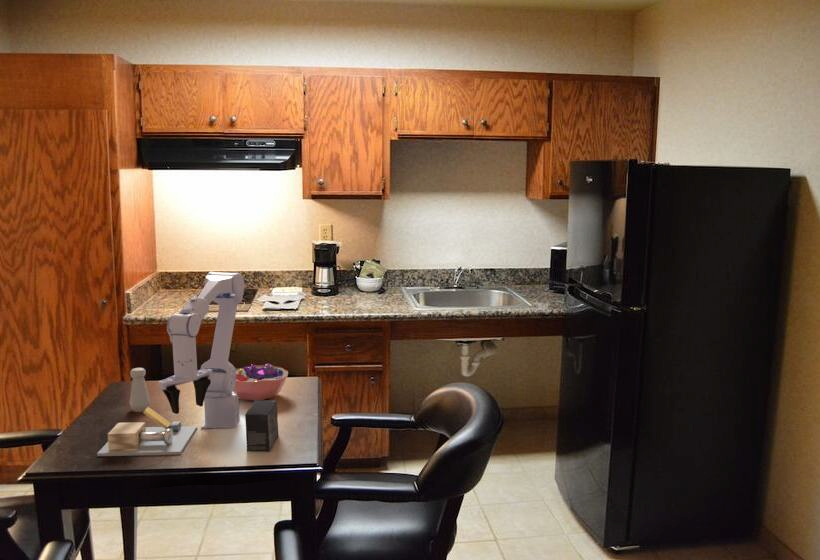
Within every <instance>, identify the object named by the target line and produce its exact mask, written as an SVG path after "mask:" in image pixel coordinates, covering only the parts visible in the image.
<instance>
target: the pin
mask: <svg viewBox="0 0 820 560" xmlns="http://www.w3.org/2000/svg"><path fill="white" fill-rule="evenodd" d="M138 436H139V442H150V441H164V443H165V444H171V443H172V440H173V430H172V429H166V430H165V432H140V433H139V434H138Z"/></svg>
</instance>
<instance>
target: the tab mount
mask: <svg viewBox="0 0 820 560" xmlns="http://www.w3.org/2000/svg"><path fill="white" fill-rule="evenodd" d="M171 423H172V424H171V425H170V429H172V430H173V432H178V431H179V430H180V429H181V427H182V424H181V423H182V421H181V420H179V421H178V420H174V421H172V422H171Z"/></svg>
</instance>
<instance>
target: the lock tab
mask: <svg viewBox="0 0 820 560" xmlns="http://www.w3.org/2000/svg"><path fill="white" fill-rule="evenodd" d="M142 413H143V414H144V415H145V416H147V417H148V418H149V419H151V420H153V421H154V422H155V423H156V424H158V426H160V427H163V428H165V429H170V425H171V424H172V422H170V421H169V420H167V419H166V418H165V417H163V416H162V415H160V414H159V413H158V412H156V411H155V410H154V409H152V408H150V406H148V407H147V408H146V409H145V411H143V412H142Z"/></svg>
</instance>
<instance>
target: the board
mask: <svg viewBox="0 0 820 560" xmlns="http://www.w3.org/2000/svg"><path fill="white" fill-rule="evenodd" d="M145 428H146V432H165V430H166V429H165V428H163V427H162V426H148V427H147V426H145ZM197 431H198V426H195V425H193V426H191V425H190V426H181V429H180V430H179V431H178V432H173V440H172V443H171V444H165V443H164V441H150V442H143V443H142V445H141V446H140V447H139V448H138V449H137V451H109V446H108V441H107V442H106V443H105V444H104V445H103V446H102V448H100V450H99V451H97V453H96V456H97V457H119V456H121V457H122V456H126V457H129V456H130V457H131V456H166V455H168V456H172V454H173V455H175V454H180V455H182V453H183V452H184V451H185V449H186V447H187V445H189V442H190V441H191V439H192V438H193V437H194V435H195V433H196V432H197Z"/></svg>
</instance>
